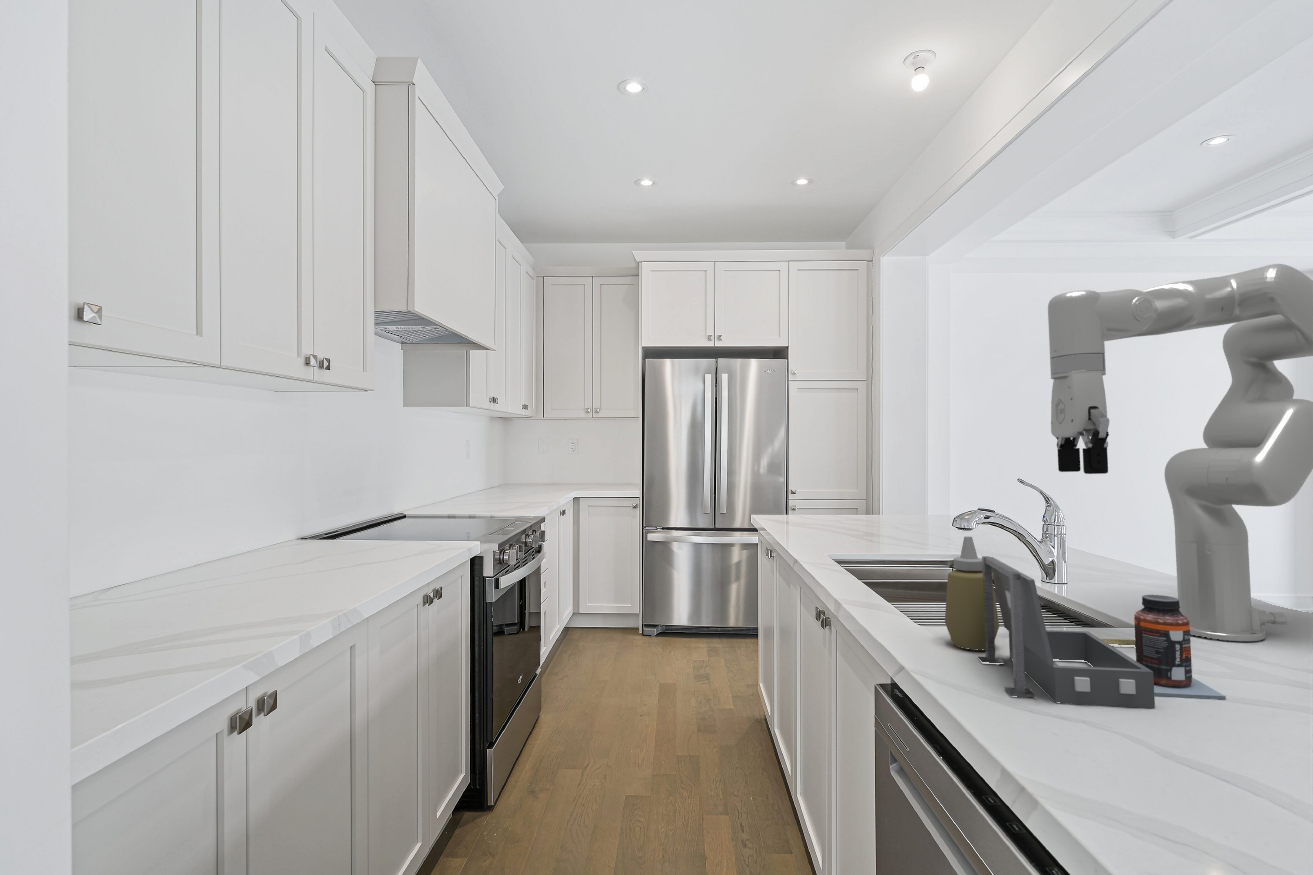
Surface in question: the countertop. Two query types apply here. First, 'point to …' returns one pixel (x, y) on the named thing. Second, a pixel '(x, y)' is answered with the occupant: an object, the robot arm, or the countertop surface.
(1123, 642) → the rod
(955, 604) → the squeeze bottle
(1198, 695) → the mat
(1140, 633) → the supplement bottle
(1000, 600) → the lid
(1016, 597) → the stay bracket
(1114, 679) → the case
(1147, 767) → the countertop surface
